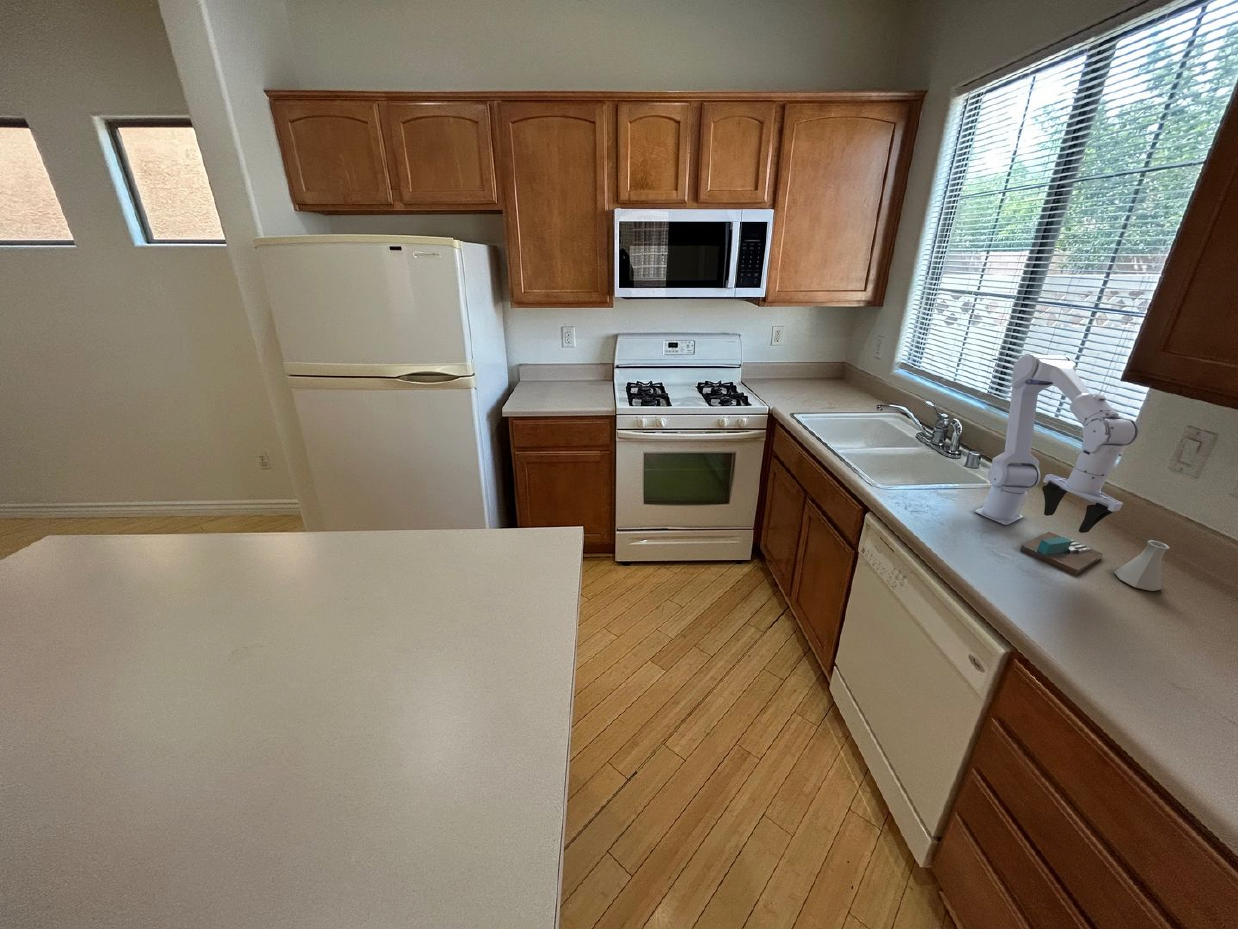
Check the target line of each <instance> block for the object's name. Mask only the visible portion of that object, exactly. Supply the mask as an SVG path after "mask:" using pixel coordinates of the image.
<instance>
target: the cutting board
mask: <svg viewBox="0 0 1238 929" xmlns="http://www.w3.org/2000/svg"><path fill="white" fill-rule="evenodd" d="M1059 537H1062V536H1061V535H1058V534H1056V533H1053V532H1051V531H1047V532H1045V533H1043V534H1041V535H1039V536H1037V537H1035V538H1034V539H1031V540H1029V541H1027V542H1025V543H1024V544H1022V545H1021V546H1020V549H1019V551H1021V552H1022V553H1025V554H1027V555H1029V556H1031V557H1034V558H1037V559H1039V560H1041V561H1043V562H1044V563H1047V564H1050V565H1051V566H1054V567H1056V568H1058V569H1060V570H1062V571H1065V572H1067V573H1070V574H1071V575H1074V576H1077V575H1078V574H1080V573H1081V572H1083V571H1084V570H1086V569H1087V568H1089V567H1090V566H1092V565H1093V564H1095V563H1097V562H1098V561H1100V560H1102V557H1103V555H1104V553H1103V552H1100V551H1098V550H1095V549H1093V548H1092V550H1091V551H1089V552H1083V553H1077V552H1073V553H1069V552H1061V553H1055V554H1049V555H1044V554H1042V553H1041V552H1039V551H1037V549H1038V546H1039V544H1040V542H1041V540H1045V539H1052V538H1059ZM1086 548H1089V547H1088V546H1086Z"/></svg>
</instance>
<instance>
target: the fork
mask: <svg viewBox="0 0 1238 929" xmlns="http://www.w3.org/2000/svg"><path fill="white" fill-rule="evenodd" d="M1086 547H1087V545H1086V544H1082V543H1081V542H1080V541H1077V540H1076V539H1074V538H1072V539H1069V538H1067V537H1065V536H1061V537H1059V538H1052V539H1045V540H1041V542H1040V544H1039V546H1038V549H1037V551H1039V552H1041V553H1042V554H1044V555H1049V554H1055V553H1061V552H1069V553H1073V552H1077V553H1083V552H1089V551H1091V550H1092V549H1093V548H1092V547H1090V546H1089V547H1088V548H1086Z"/></svg>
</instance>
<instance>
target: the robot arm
mask: <svg viewBox="0 0 1238 929" xmlns="http://www.w3.org/2000/svg"><path fill="white" fill-rule="evenodd" d="M1076 366H1077V364H1076V362H1075V361H1073V359H1072V358H1071V357H1070V356H1069V355H1065V354H1060V355H1053V354H1052V355H1051V354H1033V353H1025V354H1023V355H1022V356H1021V357H1020V358H1019V359H1018V360H1017V361H1016V362H1014V364H1013V367H1012V368H1013V369H1012V377H1011V395H1010V403H1009V411H1008V421H1007V428H1006V435H1005V436H1006V438H1005V443H1004V444H1005V445H1004V451H1003V452H1002V453H1000V454H998V455H997V456H996V455H995V457H993V458H992V461H991V465H990V468H989V469H988V472H987V478H988V481H989V484H990V485H991V486H990V488H989V490H988V493H987V496H986V498H985V501H984V504H983V506H982V507H980V508H977V509H975V510H974V513H976V514H978V515H980V516H983V517H985V518H988V519H990V520H992V521H995V522H997V523H1000V524H1001V525H1004V526H1007V525H1010V524H1012V523H1014V522H1016V521H1019V520H1021V519H1022V518H1024V516H1023V514H1021V511H1022V510H1023V507H1024V506H1025V502H1026V499H1027V497H1028V492H1030V489H1033V488H1035V487H1037V485H1039V483H1040V481H1041V472H1040V461H1039V460H1038V458H1036V457H1035V456H1034V455H1033V454H1032V447H1033V437H1034V429H1035V422H1036V414H1037V413H1036V412H1037V405H1038V396H1039V394H1040V393H1041V392H1042V391H1043V390H1045V389H1049V388H1050V387H1053V386H1055V387H1057V389H1058V390H1059V391H1060V392H1061V393H1062V394H1063V395H1064V396H1065V397H1066V398H1067V399H1068V400H1069V401H1070V402H1071V403H1070V404H1069V410H1070V411H1071V413H1072V414H1073V415H1074V416H1075V418H1076V419H1077V420H1078V421H1079V423H1080V424H1081V425H1082V426H1083V429H1082V437H1083V439H1082V443H1081V451H1080V453H1079V455H1078V458H1077V459H1076V462H1075V463H1074V466H1073V468H1072V471H1071V472H1070V475H1069V477H1068V478H1064V477H1062V476H1058V475H1056V474H1054V473H1049V474H1045V476H1044V478H1043V480H1042V482H1043V483H1044V484H1046V485H1043V486H1042V488H1041V490H1042V493H1043V497H1044V511H1043V515H1044V516H1046V517H1049V516H1053V515H1054V514H1055V513H1056V511H1057V509H1058V507H1059V505H1060V502H1061V501H1062V499H1063V498H1064V497H1065V495H1066V494H1067V493H1071V494H1072V495H1075V496H1078V497H1080V498H1083V499H1084V500H1087V501H1090V502H1092V503H1094V504H1087V505H1086V510H1085V515H1084V518H1083V520H1082V522H1081V524H1080V526H1079V528H1078V532H1079V533H1080V534H1086V533H1089V532H1090V531H1091V530H1092V529H1093V527H1095V526H1096V525H1097V524H1098V523H1099V522H1100V521H1102V520H1104V519H1105V518H1106V517H1107V516H1109V515H1111V514H1113V513H1115V512H1120V510H1121V508H1122V506H1123V504H1124V503H1123V502H1122V501H1120V500H1118V499H1115V498H1113V497H1112V496H1110V495H1108V494H1106V493H1105V492H1103V491H1102V489H1103V487H1104V485H1105V483H1106V481H1107V479H1108V477H1109V475H1110V473H1111V471H1112V469H1113V468H1114V466H1115V464H1116V461H1117V459H1118V457H1120V456H1119V455H1120V454H1121V452H1122V450H1123V448H1124V447H1125V446H1129V445H1132V444H1133V443H1134V442H1135V441H1136V440H1137V438H1138V436H1139V427H1138V425H1137V423H1136V421H1135V420H1133V419H1132V418H1126V417H1123V416H1122V415H1119V412H1118V411H1116V410H1115V409H1114V408H1113V407H1112V406H1111V405H1110V404H1109V403H1108V402H1107V397H1106V396H1105V395H1103V394H1099V393H1095V392H1090V390H1089V389H1088V388H1087V386H1086V385H1085V384H1084V382H1083V381H1082V379H1081V378H1080V376H1079V375H1078V373H1077V372H1076Z"/></svg>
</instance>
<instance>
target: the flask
mask: <svg viewBox="0 0 1238 929" xmlns="http://www.w3.org/2000/svg"><path fill="white" fill-rule="evenodd" d="M1146 544H1147V545H1146V547H1145V548H1144V549H1143V550H1142V551H1141V552H1140V554H1138V555H1136V556H1135V557H1134V558H1133V559H1131V560H1130V561H1128V562H1127V563H1125V564H1123V565H1122V566H1121V567H1118V569H1116V570H1114V571H1113V573H1114V574H1115V575H1116V577H1117V578H1118V579H1119V580H1121V581H1122V582H1124V583H1125V584H1128V585H1130V586H1132V587H1133V588H1136V589H1141V590H1146V591H1150V592H1153V591H1160V590H1162V560H1163V557H1164V555H1165V553H1166V551H1169V550H1170V548H1171V547H1170V546H1168V545H1167V544H1166V543H1164V542H1161V541H1158V540H1154V539H1153V540H1152V539H1149V540H1147V541H1146Z"/></svg>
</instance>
